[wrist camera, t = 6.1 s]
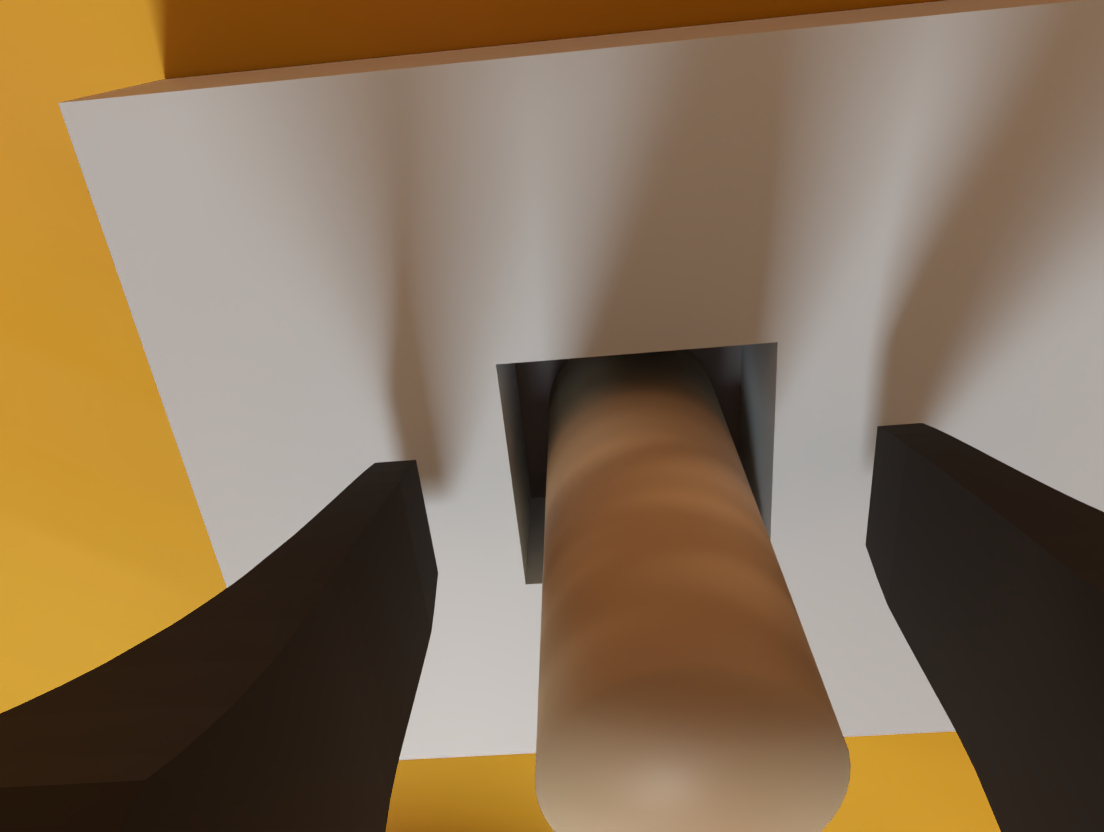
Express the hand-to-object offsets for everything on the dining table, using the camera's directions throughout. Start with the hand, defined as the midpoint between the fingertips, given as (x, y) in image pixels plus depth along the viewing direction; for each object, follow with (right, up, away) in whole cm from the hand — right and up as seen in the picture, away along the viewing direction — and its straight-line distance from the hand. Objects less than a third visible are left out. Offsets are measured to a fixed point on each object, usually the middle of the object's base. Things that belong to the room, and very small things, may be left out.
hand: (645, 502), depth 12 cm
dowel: (0, +1, +3) cm, 3 cm away
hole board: (+1, +2, +3) cm, 4 cm away
